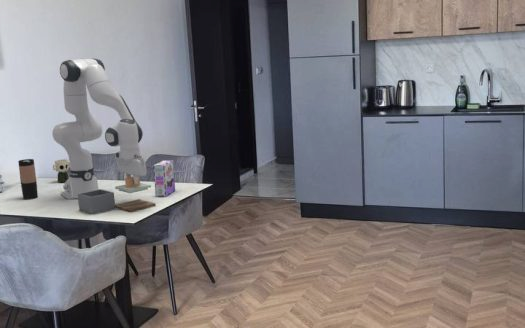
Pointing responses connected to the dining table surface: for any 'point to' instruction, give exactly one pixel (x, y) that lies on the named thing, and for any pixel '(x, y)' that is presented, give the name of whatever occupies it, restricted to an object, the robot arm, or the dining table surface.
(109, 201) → the storage box
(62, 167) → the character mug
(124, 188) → the lid
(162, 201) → the dining table surface
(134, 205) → the walnut board
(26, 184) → the travel mug
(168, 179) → the candy box
